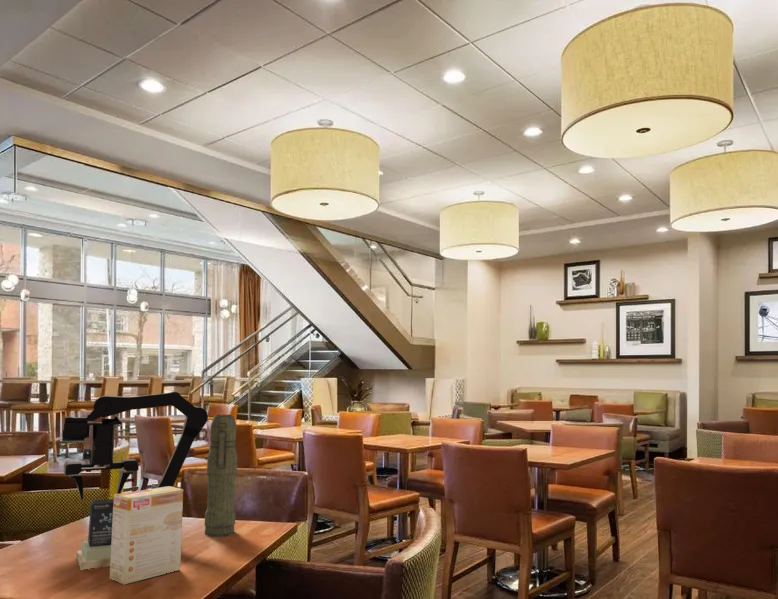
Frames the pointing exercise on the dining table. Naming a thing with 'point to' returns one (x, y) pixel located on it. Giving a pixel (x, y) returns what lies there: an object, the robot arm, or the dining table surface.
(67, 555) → the dining table surface
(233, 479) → the thermos
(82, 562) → the lower slab
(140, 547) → the coffeecake box
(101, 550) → the upper slab
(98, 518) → the box
